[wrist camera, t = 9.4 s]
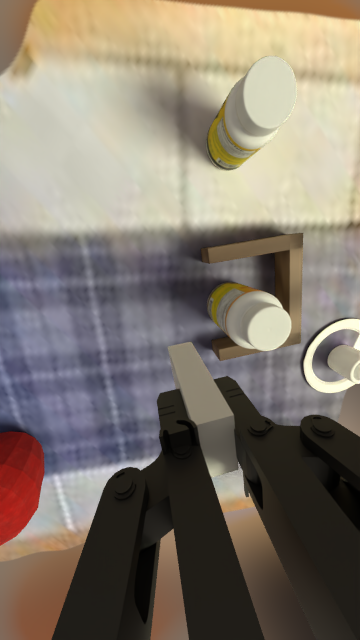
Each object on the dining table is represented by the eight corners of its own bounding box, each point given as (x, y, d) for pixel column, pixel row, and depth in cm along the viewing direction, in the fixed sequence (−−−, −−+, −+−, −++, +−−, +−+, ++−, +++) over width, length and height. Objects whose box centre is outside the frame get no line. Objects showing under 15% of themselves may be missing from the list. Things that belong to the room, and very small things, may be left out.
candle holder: (286, 356, 33) (306, 372, 29) (352, 300, 32) (383, 307, 28) (323, 403, 37) (346, 422, 33) (383, 354, 36) (415, 368, 32)
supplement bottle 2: (256, 303, 29) (312, 329, 19) (223, 333, 30) (263, 372, 20) (230, 271, 27) (277, 281, 18) (196, 302, 28) (224, 330, 18)
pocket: (200, 248, 26) (208, 248, 23) (286, 234, 27) (303, 232, 24) (212, 350, 30) (220, 360, 27) (286, 334, 31) (300, 343, 28)
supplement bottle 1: (237, 106, 23) (290, 30, 15) (256, 156, 24) (312, 111, 16) (196, 132, 23) (226, 71, 15) (217, 180, 24) (254, 148, 16)
